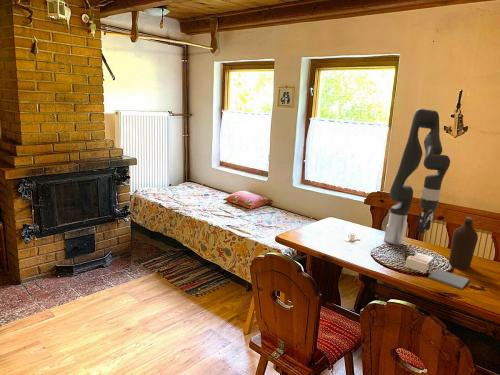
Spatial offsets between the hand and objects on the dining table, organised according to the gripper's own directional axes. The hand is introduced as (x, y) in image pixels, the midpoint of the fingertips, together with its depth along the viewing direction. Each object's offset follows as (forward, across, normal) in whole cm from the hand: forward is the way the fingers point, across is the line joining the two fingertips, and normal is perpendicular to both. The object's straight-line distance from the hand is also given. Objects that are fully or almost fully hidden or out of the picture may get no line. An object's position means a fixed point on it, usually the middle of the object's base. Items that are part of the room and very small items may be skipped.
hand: (423, 231), depth 173 cm
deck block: (+19, 0, 0) cm, 19 cm away
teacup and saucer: (+19, -9, -36) cm, 42 cm away
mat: (+19, -1, +14) cm, 24 cm away
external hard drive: (+20, -14, -2) cm, 24 cm away
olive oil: (+19, -23, +13) cm, 33 cm away
